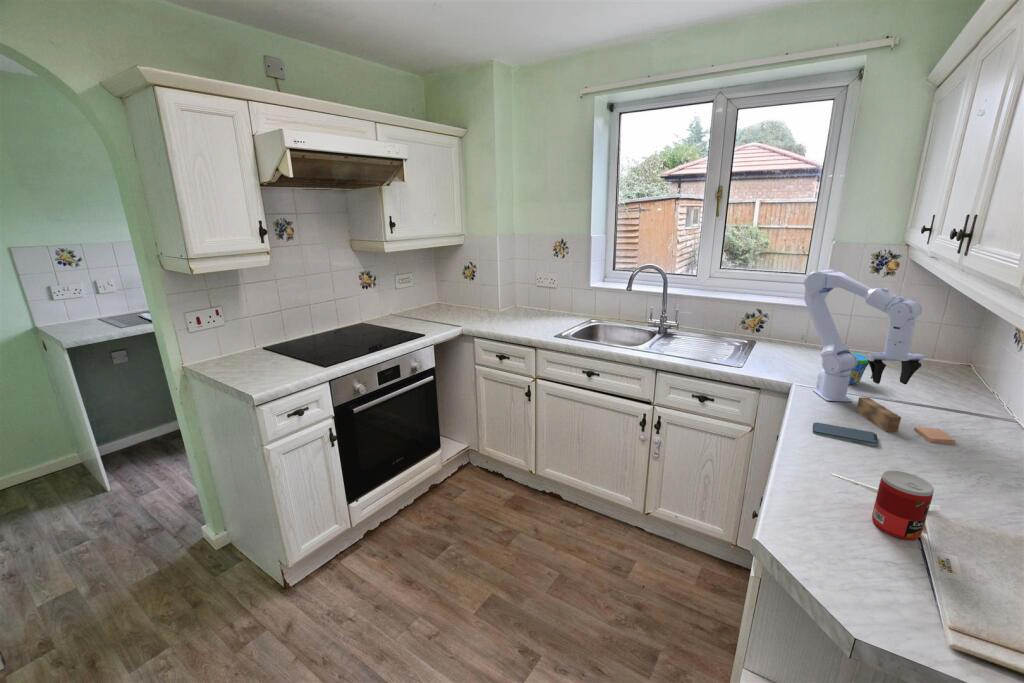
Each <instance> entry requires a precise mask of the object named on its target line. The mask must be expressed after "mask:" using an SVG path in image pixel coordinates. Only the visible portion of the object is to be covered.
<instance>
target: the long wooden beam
mask: <svg viewBox="0 0 1024 683" xmlns="http://www.w3.org/2000/svg"><path fill="white" fill-rule="evenodd" d="M856 406H857V407H856V410H855V412H856V413H858V414H860V415H861V416H862V417H863V418H865V419H866V420H868V421H869V422H870V423H872V424H873V425H875V426H876V427H878V428H880V429H881V430H882V431H884V432H886V433H898V431H899V428H900V424H901V419H902V417H901V416H899V415H898V414H896V413H895V412H893V411H892V410H890V409H889V408H887V407H885V406H884V405H882V404H880V403H879V402H877V401H876V400H873V399H872V398H870V397H858V400H857V405H856Z"/></svg>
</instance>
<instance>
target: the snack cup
mask: <svg viewBox="0 0 1024 683" xmlns="http://www.w3.org/2000/svg"><path fill="white" fill-rule="evenodd" d="M851 352H852V353H853V354H854V355H855V356H856V358H857V365H856V367H855V368H853V369H851V375H850V380H849V383H850V384H849V385H858V384H860V382H861V380H862V377H863V375H864V372H865V370H866V369H867V367H868V365H869V363H868V360H867V355H866V354H863V353H859V352H855V351H851ZM870 379H871V380H873V377H872V375H871V377H870ZM857 383H858V384H857Z"/></svg>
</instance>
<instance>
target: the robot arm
mask: <svg viewBox="0 0 1024 683" xmlns="http://www.w3.org/2000/svg"><path fill="white" fill-rule="evenodd" d="M803 285H804V296H803V297H804V302H805V305H806V307H807V310H808V312H809V315H810V317H811V320H812V322H813V325H814V327H815V330H816V332H817V335H818V338H819V339H820V342H821V345H822V347H823V349H822V351H821V353H820V357H821V359H822V360H821V366H822V369H821V370H820V371H819V372H818V375H817V380H816V385H815V388H812V391H813V392H814V393H815V394H817V395H818V396H820V397H821V398H822V399H824V400H825V401H826V402H848V403H849V402H852V399H850V398H849V397H848V396H847V394H848V390H849V389H848V388H849V385H850V384H849V380H850V375H851V369H853V368H855V367H856V365H857V358H856V356H855V355H854V354H853V353H852V352H853V351H852V350H851V348H850V347H849V346H848V345H846V344H845V343H844V342H843V341H842V339H841V336H840V333H839V332H838V331H839V330H838V329H837V327H836V324H835V322H834V319H833V317H832V314H831V312H830V309H829V307H828V305H827V302H826V298H827V296H828V295H829V293H830V292H831V291H832V290H834V289H835V288H840V289H843V290H845V291H847V292H849V293H852V294H854V295H856V296H859V297H861V298H864V300H865V303H866V304H867V305H868V306H871V307H873V308H875V309H877V310H878V311H881V312H882V313H885V314H887V315H888V317H889V325H888V330H887V336H886V339H885V344H884V349H883V351H882V352H881V351H880V352H868V353H867V355H866V356H867V360H868V363H869V364H868V365H869V368H870V370H871V376H872V377H873V378H872V382H873V383H875V384H877V385H880V383H881V380H882V377H883V376H882V375H883V372H884V370H885V368H886V367H887V364H886V363H884V361H886V362H887V361H888V362H889V361H890V362H893V361H894V362H895V361H896V362H898V361H899V362H901V364H900V365H901V370H900V371H901V372H900V375H899V382H900V384H903V385H907V384H908V383H909V381H910V379H911V378H912V376H913V375H914V374H915V373H916V372H917V371H918V370H919V369H920V368H921V367H922V362H924V361H925V360H924V359H925V355H923V354H922V353H910V348H911V344H912V339H913V336H914V330H915V326H916V321H917V319H916V318H918V317H920V316H921V314H922V311H923V310H922V309H923V307H922V305H921V303H919V302H918V301H917V300H915V299H906V297H904V296H903V295H900V296H899V295H897V294H894V293H893V292H890V291H889V288H886V287H876V288H872V287H870V286H867V285H866V284H863V283H862V282H860V281H858V280H856V279H854V278H852V277H850V276H848V275H847V274H846V273H844V272H841V271H838V270H836V269H833V268H829V269H824V270H813V271H811V272H809V273H808V274H807V275H806V277H805V279H804V280H803Z"/></svg>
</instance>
